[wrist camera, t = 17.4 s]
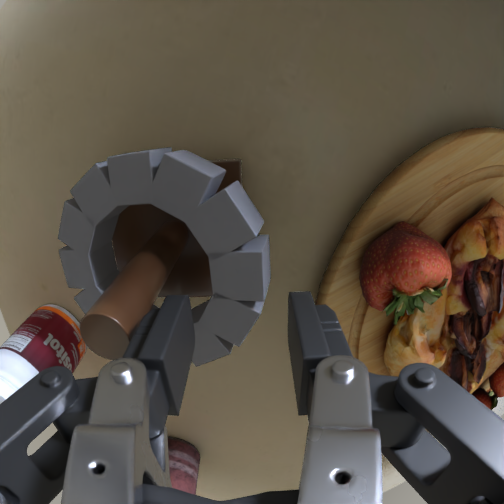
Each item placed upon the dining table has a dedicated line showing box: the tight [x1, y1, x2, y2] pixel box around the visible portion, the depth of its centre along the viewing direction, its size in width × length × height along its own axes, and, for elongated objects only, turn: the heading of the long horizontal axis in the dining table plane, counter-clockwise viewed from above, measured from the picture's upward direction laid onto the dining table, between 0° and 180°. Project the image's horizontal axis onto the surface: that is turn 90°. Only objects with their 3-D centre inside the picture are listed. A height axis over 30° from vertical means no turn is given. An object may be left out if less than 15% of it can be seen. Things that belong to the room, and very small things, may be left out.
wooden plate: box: [315, 127, 504, 432], centre depth 20 cm, size 32×32×8 cm
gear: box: [58, 147, 271, 367], centre depth 16 cm, size 12×12×2 cm
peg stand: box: [80, 159, 242, 360], centre depth 16 cm, size 9×9×12 cm
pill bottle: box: [0, 304, 87, 404], centre depth 20 cm, size 6×6×11 cm
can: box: [167, 437, 200, 495], centre depth 24 cm, size 6×6×14 cm
